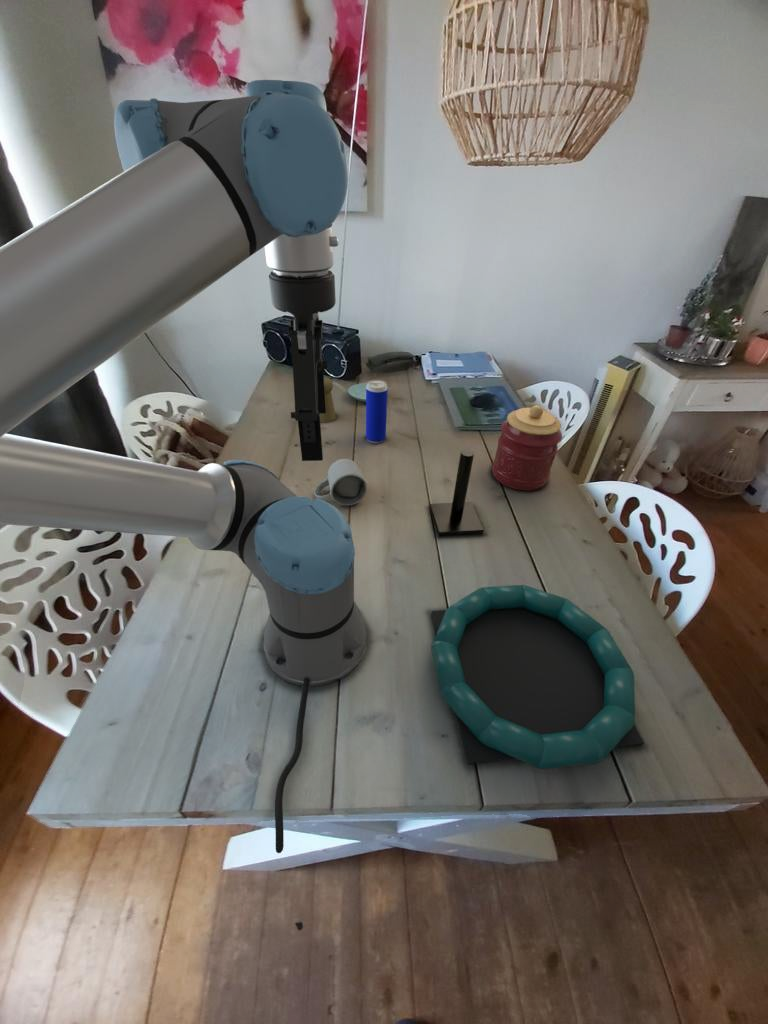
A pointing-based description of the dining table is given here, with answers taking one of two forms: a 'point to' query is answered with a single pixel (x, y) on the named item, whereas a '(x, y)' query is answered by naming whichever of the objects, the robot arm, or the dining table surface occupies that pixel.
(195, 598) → the dining table surface
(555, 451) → the kitchen canister
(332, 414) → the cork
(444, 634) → the hoop
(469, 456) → the stand
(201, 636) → the dining table surface
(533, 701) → the mat
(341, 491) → the ceramic mug
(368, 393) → the beverage can
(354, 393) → the saucer
